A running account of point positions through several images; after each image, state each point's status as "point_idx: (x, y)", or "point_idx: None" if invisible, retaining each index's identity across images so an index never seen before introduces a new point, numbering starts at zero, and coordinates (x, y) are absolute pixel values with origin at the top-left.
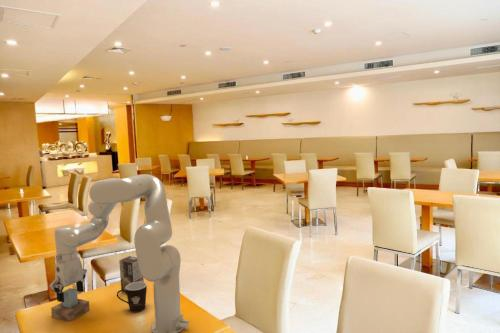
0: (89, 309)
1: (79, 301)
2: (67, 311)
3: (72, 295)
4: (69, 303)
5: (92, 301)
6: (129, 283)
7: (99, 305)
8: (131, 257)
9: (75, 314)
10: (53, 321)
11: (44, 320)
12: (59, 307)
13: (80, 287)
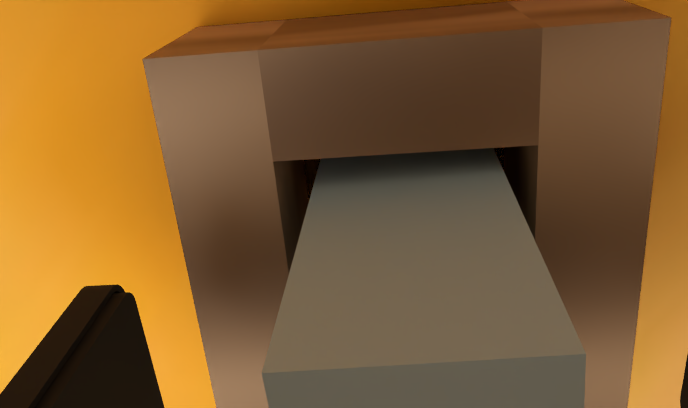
0: (195, 28)
1: (253, 217)
2: (659, 73)
3: (442, 293)
4: (521, 214)
5: (11, 223)
6: None
7: (11, 11)
8: None
9: (491, 13)
10: (667, 230)
11: (676, 353)
12: None
13: (96, 405)
